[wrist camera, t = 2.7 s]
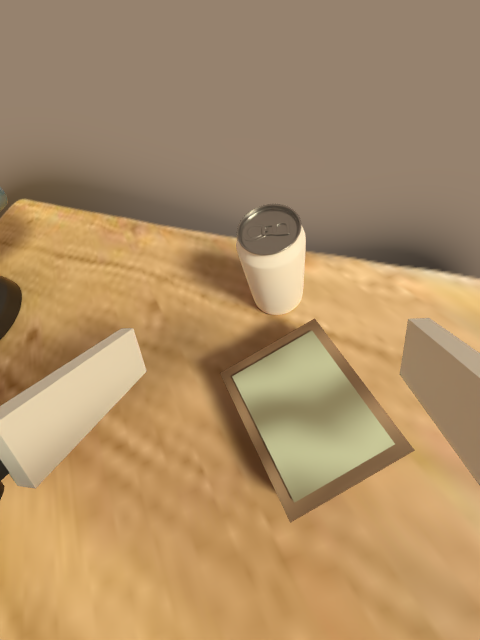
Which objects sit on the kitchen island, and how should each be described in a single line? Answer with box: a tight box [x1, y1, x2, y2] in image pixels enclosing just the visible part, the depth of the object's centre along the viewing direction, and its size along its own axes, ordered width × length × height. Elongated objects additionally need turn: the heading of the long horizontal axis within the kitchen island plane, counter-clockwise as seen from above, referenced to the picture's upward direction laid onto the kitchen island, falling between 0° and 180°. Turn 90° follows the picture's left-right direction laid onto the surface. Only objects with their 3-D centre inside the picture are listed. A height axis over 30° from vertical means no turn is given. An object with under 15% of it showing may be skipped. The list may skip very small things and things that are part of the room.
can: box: [236, 204, 306, 315], centre depth 26 cm, size 6×6×12 cm
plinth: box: [220, 319, 415, 523], centre depth 23 cm, size 13×11×5 cm
